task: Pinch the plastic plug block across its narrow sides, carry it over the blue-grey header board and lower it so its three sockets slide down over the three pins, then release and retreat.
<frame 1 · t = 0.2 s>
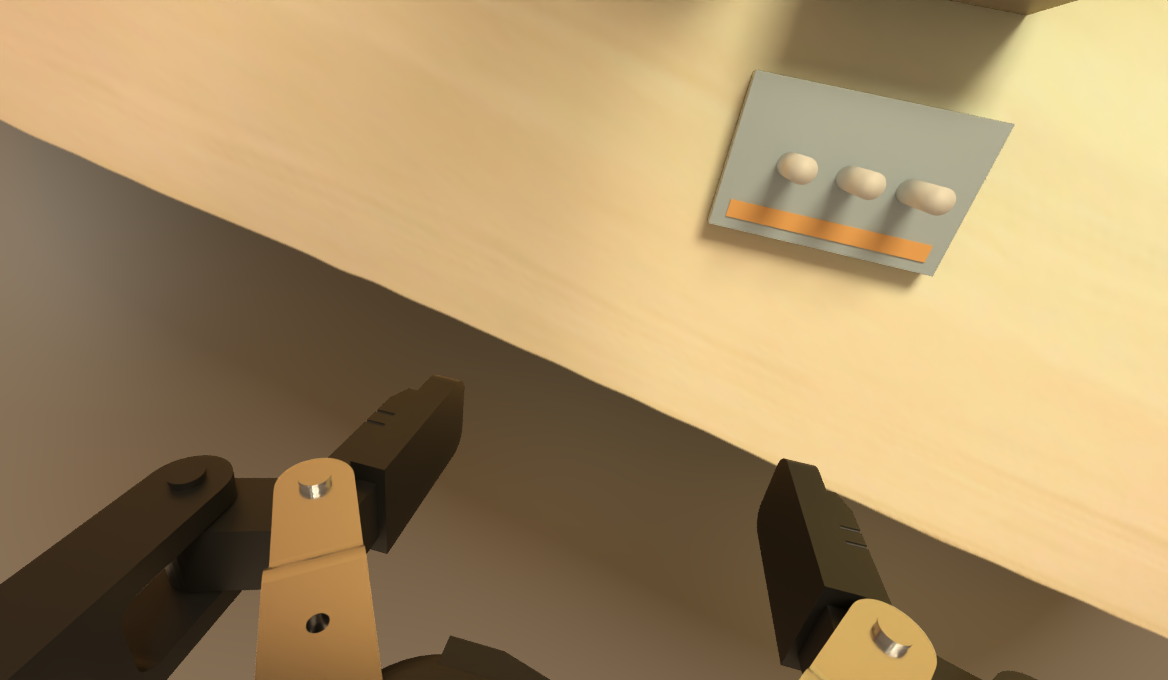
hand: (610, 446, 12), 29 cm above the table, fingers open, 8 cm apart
header board: (842, 175, 34), on the table
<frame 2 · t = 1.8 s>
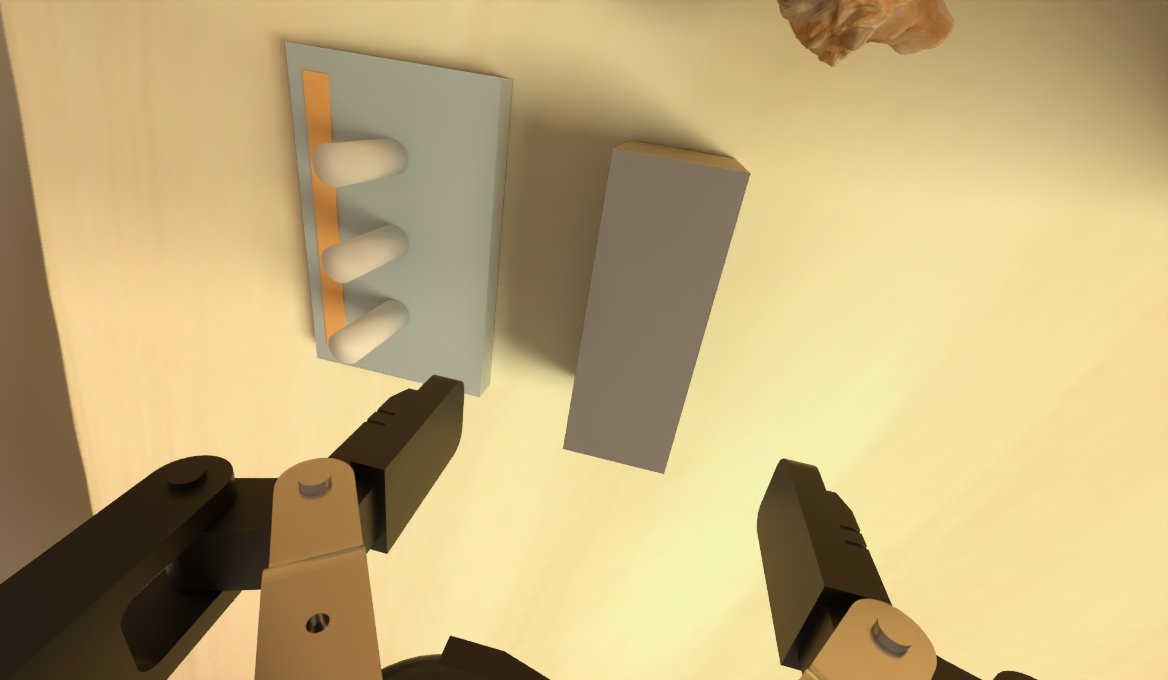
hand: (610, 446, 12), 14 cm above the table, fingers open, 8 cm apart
header board: (409, 234, 26), on the table
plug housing: (652, 284, 25), on the table
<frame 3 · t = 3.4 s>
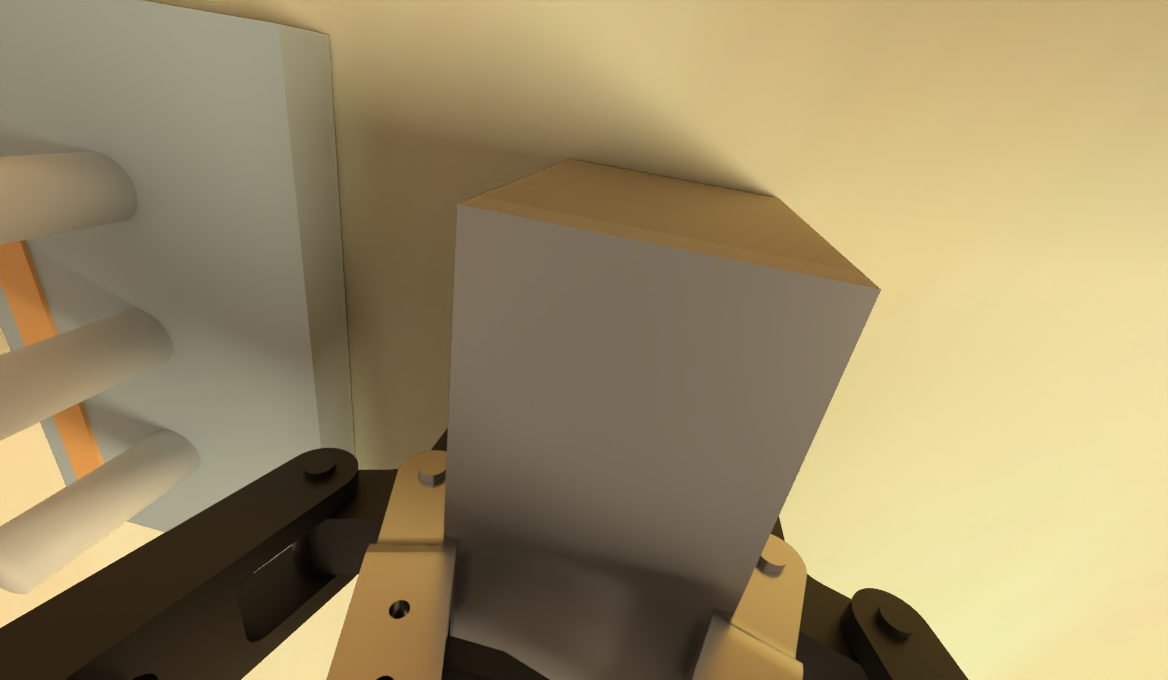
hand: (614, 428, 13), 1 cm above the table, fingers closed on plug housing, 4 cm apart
header board: (194, 316, 15), on the table
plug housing: (617, 417, 14), on the table, touching gripper
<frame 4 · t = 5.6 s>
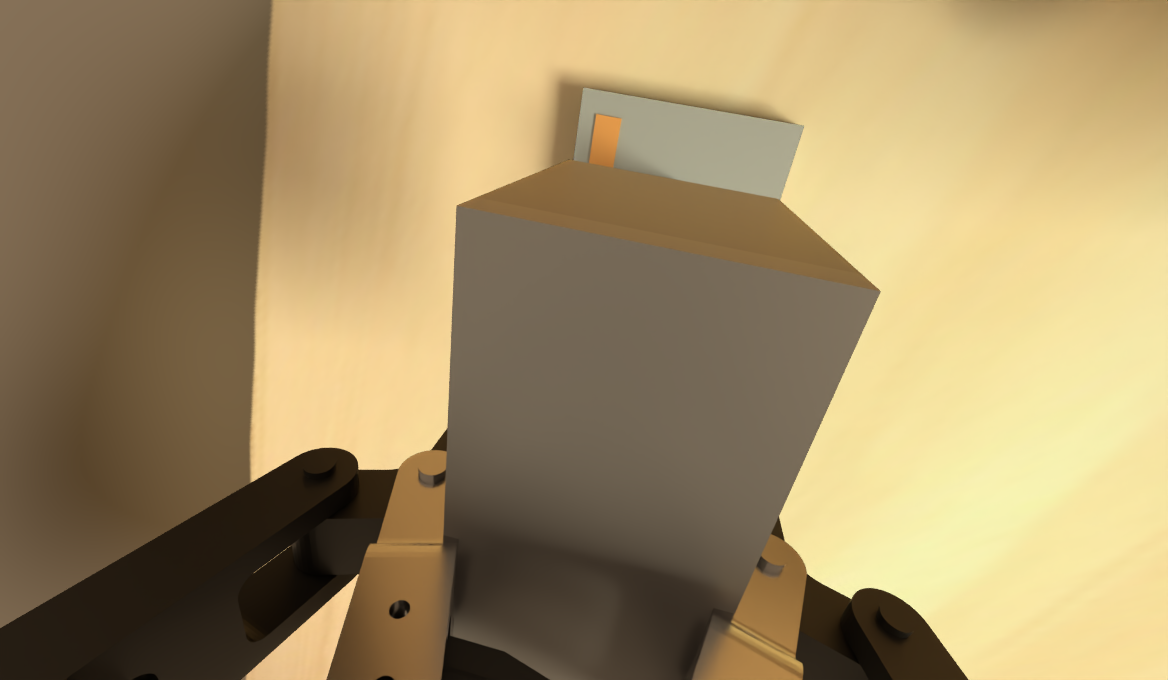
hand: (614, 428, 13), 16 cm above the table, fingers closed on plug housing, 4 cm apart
header board: (654, 266, 27), on the table
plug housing: (617, 417, 14), point 15 cm above the table, touching gripper
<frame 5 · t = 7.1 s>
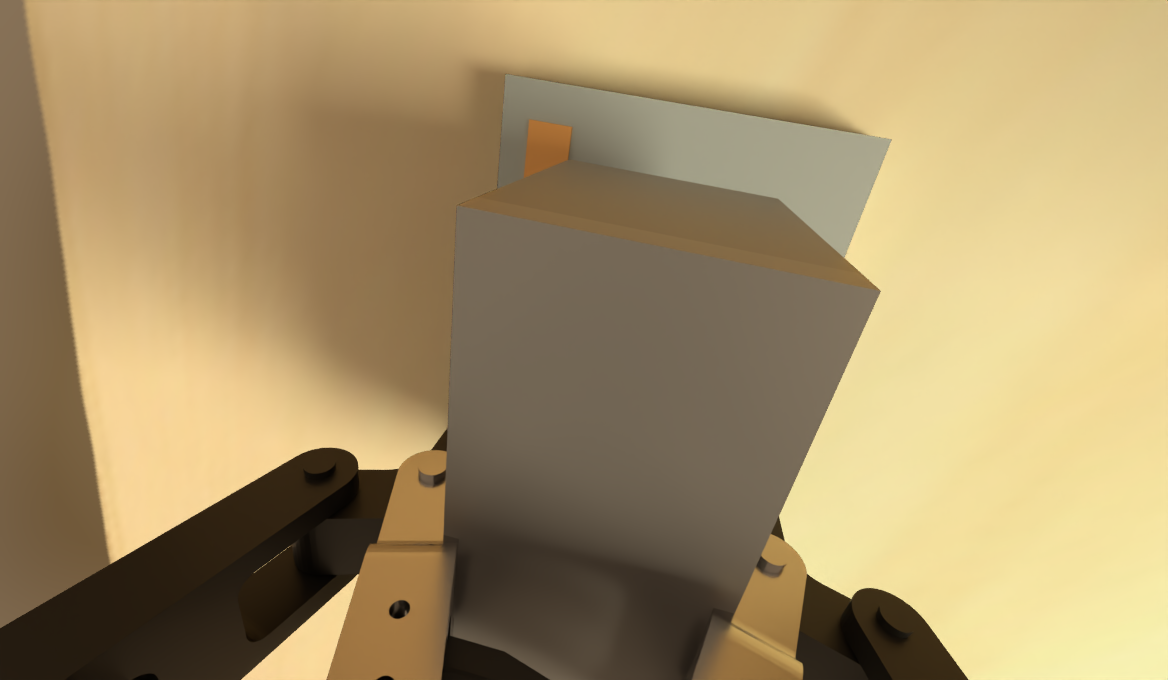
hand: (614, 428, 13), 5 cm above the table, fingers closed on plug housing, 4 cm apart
header board: (634, 351, 18), on the table
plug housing: (617, 417, 14), point 4 cm above the table, touching gripper
when the fingers open (3 cm above the table, at t = 8.0 s): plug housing stays where it is, resting on header board.
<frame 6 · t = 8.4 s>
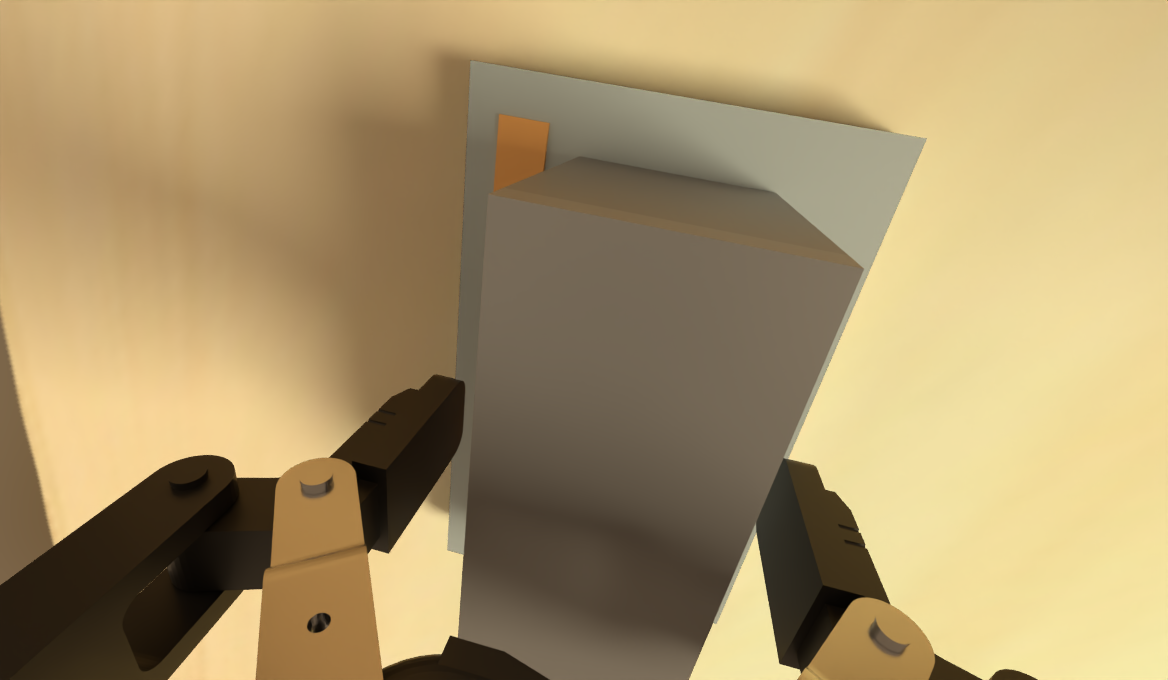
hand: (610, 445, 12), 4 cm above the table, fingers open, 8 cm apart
header board: (625, 377, 16), on the table
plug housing: (623, 402, 14), point 1 cm above the table, touching header board
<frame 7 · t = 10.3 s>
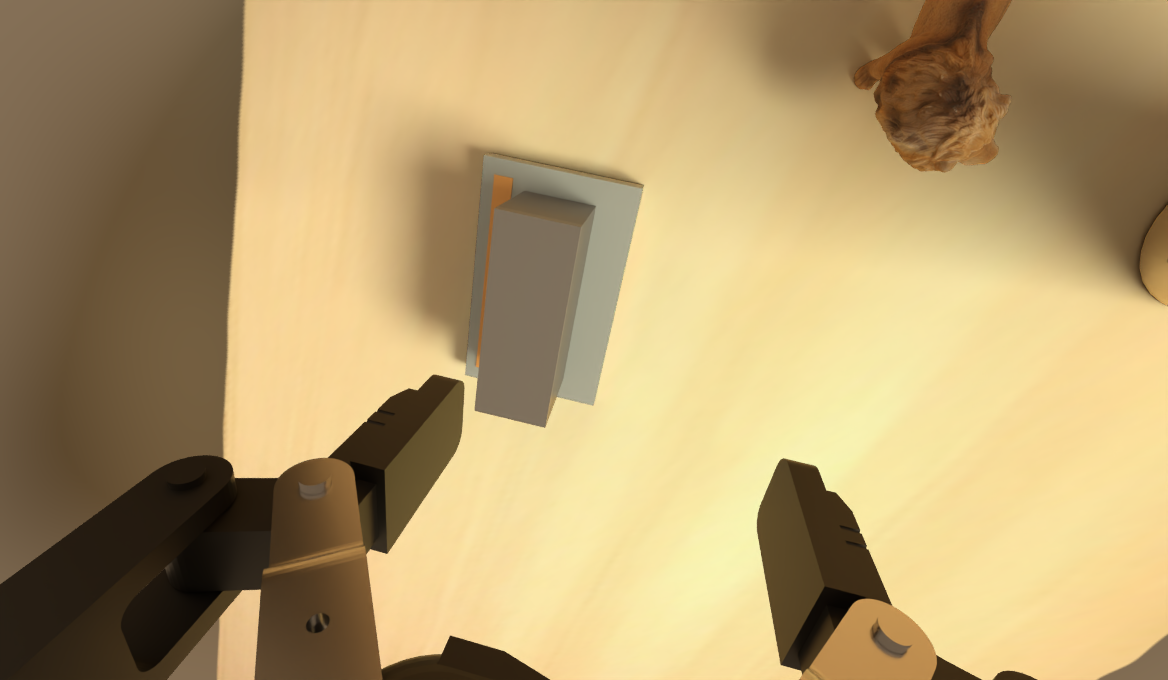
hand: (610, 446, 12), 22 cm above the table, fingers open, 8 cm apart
header board: (548, 285, 35), on the table
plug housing: (545, 292, 34), point 1 cm above the table, touching header board
lion figurine: (927, 23, 26), on the table
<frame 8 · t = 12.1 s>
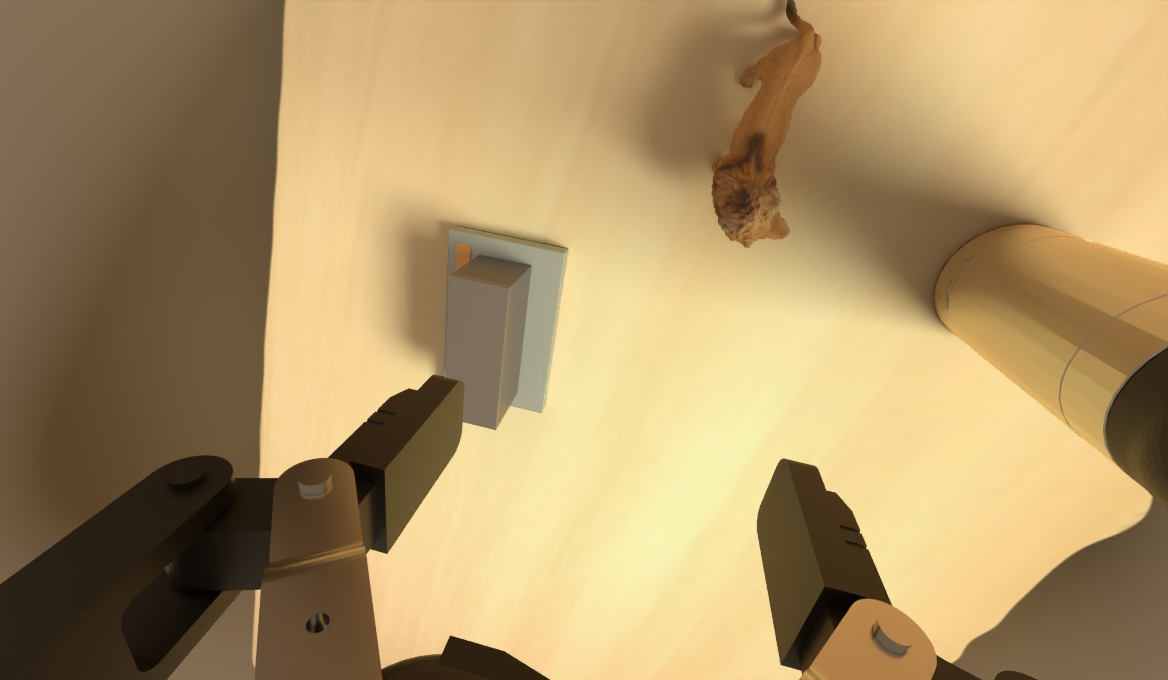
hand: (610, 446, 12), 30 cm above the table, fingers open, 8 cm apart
header board: (503, 321, 46), on the table
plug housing: (499, 327, 44), point 1 cm above the table, touching header board
lion figurine: (760, 130, 36), on the table
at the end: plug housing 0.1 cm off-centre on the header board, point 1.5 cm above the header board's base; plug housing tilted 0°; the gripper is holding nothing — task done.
